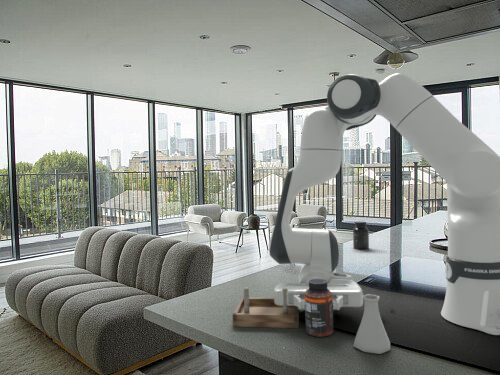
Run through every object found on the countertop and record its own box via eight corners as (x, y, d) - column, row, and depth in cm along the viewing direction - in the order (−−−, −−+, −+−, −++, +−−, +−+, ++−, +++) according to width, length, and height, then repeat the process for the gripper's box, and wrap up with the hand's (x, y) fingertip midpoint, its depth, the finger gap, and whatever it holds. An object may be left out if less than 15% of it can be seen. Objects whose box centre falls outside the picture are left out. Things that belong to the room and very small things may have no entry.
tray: (299, 309, 98) (298, 277, 97) (298, 328, 86) (297, 291, 85) (241, 308, 100) (240, 276, 99) (232, 326, 88) (231, 290, 87)
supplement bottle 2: (350, 248, 175) (349, 221, 174) (361, 246, 178) (361, 220, 177) (360, 250, 169) (359, 223, 168) (372, 248, 171) (371, 222, 171)
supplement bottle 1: (329, 326, 86) (328, 276, 86) (336, 337, 80) (335, 284, 80) (303, 327, 86) (302, 277, 86) (308, 338, 80) (307, 285, 80)
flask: (361, 335, 81) (361, 289, 81) (396, 344, 76) (395, 295, 76) (347, 348, 75) (346, 298, 75) (383, 358, 71) (382, 305, 70)
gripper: (274, 274, 97) (270, 291, 83) (357, 275, 94) (366, 292, 81) (275, 299, 97) (271, 319, 84) (357, 300, 94) (367, 321, 81)
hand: (318, 306), depth 82 cm, fingers closed on supplement bottle 1, 6 cm apart
